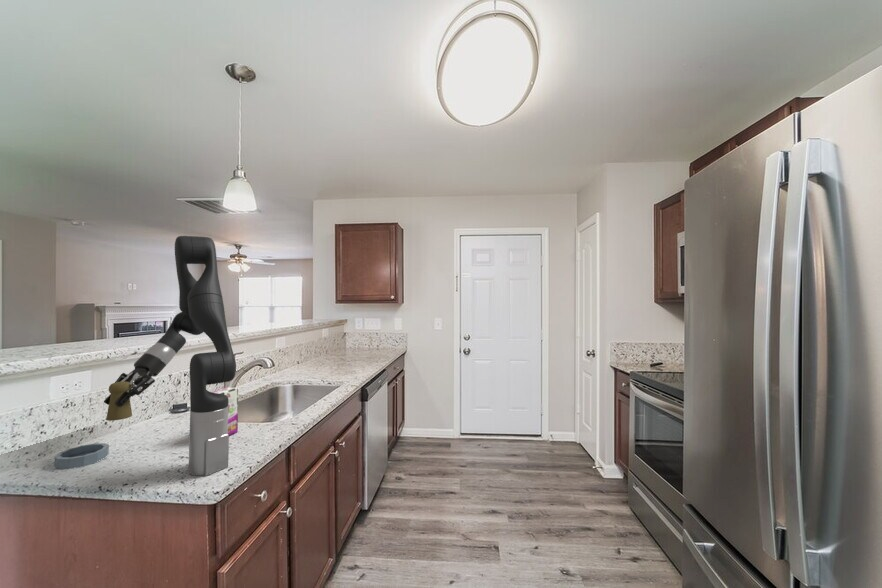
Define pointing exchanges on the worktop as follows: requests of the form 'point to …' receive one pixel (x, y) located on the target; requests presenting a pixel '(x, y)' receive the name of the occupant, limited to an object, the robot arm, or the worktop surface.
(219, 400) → the robot arm
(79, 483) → the worktop surface
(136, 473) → the worktop surface
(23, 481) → the worktop surface
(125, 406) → the cork
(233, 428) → the candy bar box
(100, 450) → the dish
